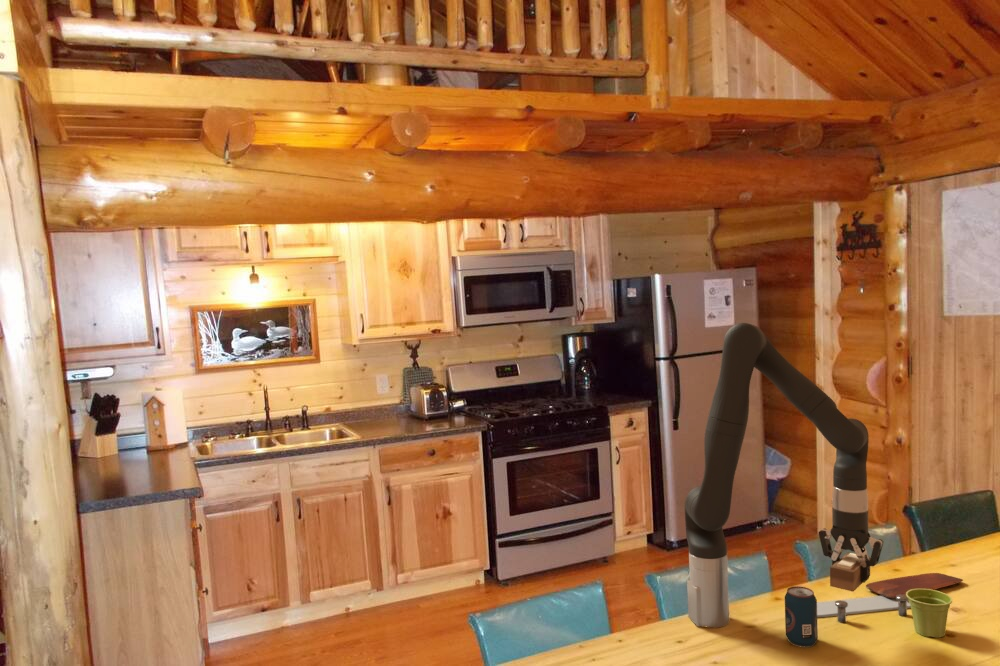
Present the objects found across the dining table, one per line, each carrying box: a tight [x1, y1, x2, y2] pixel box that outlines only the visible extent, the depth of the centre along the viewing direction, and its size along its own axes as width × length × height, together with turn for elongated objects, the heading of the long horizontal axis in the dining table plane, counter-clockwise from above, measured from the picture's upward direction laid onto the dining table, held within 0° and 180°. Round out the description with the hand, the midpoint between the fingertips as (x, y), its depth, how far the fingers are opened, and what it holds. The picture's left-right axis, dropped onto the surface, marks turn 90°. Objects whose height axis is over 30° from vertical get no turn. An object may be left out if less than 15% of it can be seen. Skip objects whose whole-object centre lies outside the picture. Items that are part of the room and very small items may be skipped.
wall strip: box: [817, 595, 911, 619], centre depth 188 cm, size 26×7×1 cm, turn 97°
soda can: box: [784, 585, 819, 648], centre depth 171 cm, size 7×7×12 cm
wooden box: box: [829, 552, 871, 592], centre depth 171 cm, size 12×5×5 cm, turn 137°
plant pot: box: [906, 589, 953, 639], centre depth 173 cm, size 9×9×9 cm
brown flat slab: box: [865, 572, 964, 598], centre depth 197 cm, size 27×10×2 cm, turn 110°
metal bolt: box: [896, 594, 909, 617], centre depth 182 cm, size 3×3×5 cm
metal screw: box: [835, 599, 848, 624], centre depth 181 cm, size 3×3×5 cm
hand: (850, 578), depth 171 cm, fingers closed on wooden box, 5 cm apart
